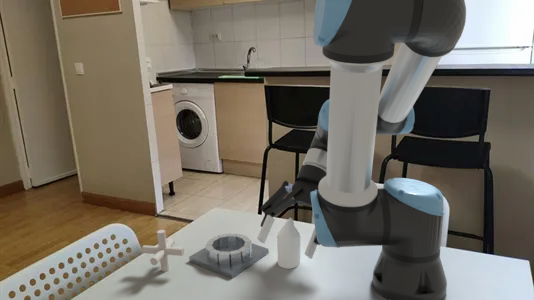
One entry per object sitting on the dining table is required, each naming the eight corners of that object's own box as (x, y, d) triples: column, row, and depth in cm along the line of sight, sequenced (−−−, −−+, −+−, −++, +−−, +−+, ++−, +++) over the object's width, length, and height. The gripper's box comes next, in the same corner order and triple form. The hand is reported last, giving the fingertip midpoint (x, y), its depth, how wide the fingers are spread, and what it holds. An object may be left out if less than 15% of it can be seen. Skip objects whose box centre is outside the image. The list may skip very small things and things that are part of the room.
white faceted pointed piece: (278, 211, 106) (301, 212, 105) (280, 255, 109) (302, 257, 108) (274, 221, 100) (298, 222, 99) (275, 268, 103) (299, 269, 102)
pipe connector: (176, 282, 99) (172, 242, 96) (136, 279, 101) (130, 240, 98) (192, 260, 108) (189, 223, 106) (155, 257, 110) (150, 221, 108)
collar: (268, 253, 111) (268, 239, 110) (232, 278, 100) (231, 263, 99) (227, 239, 119) (226, 226, 118) (189, 261, 108) (188, 247, 107)
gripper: (366, 186, 106) (336, 268, 98) (281, 169, 120) (250, 240, 113) (356, 171, 100) (324, 257, 93) (269, 156, 115) (235, 229, 107)
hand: (283, 248), depth 103 cm, fingers open, 13 cm apart
